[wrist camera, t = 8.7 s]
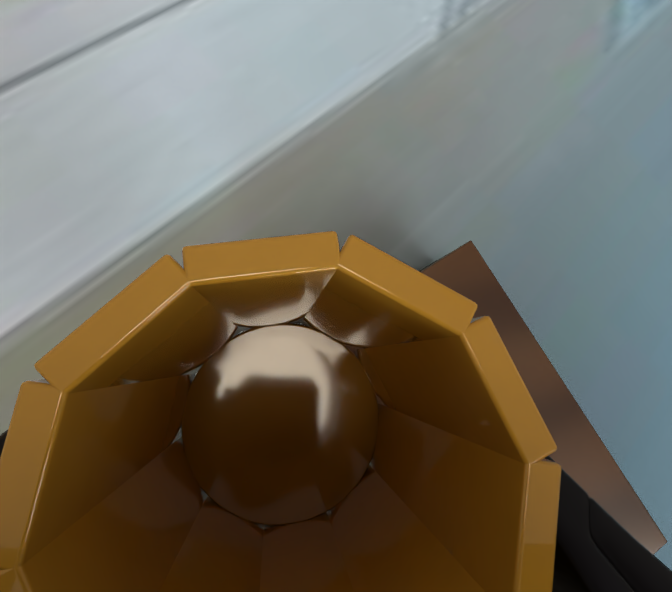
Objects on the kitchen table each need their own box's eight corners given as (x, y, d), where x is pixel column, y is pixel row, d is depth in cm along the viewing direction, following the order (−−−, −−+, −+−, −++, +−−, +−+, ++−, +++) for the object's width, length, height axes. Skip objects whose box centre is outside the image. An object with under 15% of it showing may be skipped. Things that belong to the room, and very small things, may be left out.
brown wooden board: (599, 509, 23) (668, 542, 19) (438, 646, 21) (476, 715, 17) (437, 259, 24) (471, 239, 20) (266, 368, 22) (264, 371, 18)
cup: (434, 414, 13) (659, 491, 6) (274, 590, 12) (275, 1020, 4) (289, 264, 13) (311, 129, 6) (115, 422, 12) (-177, 536, 4)
